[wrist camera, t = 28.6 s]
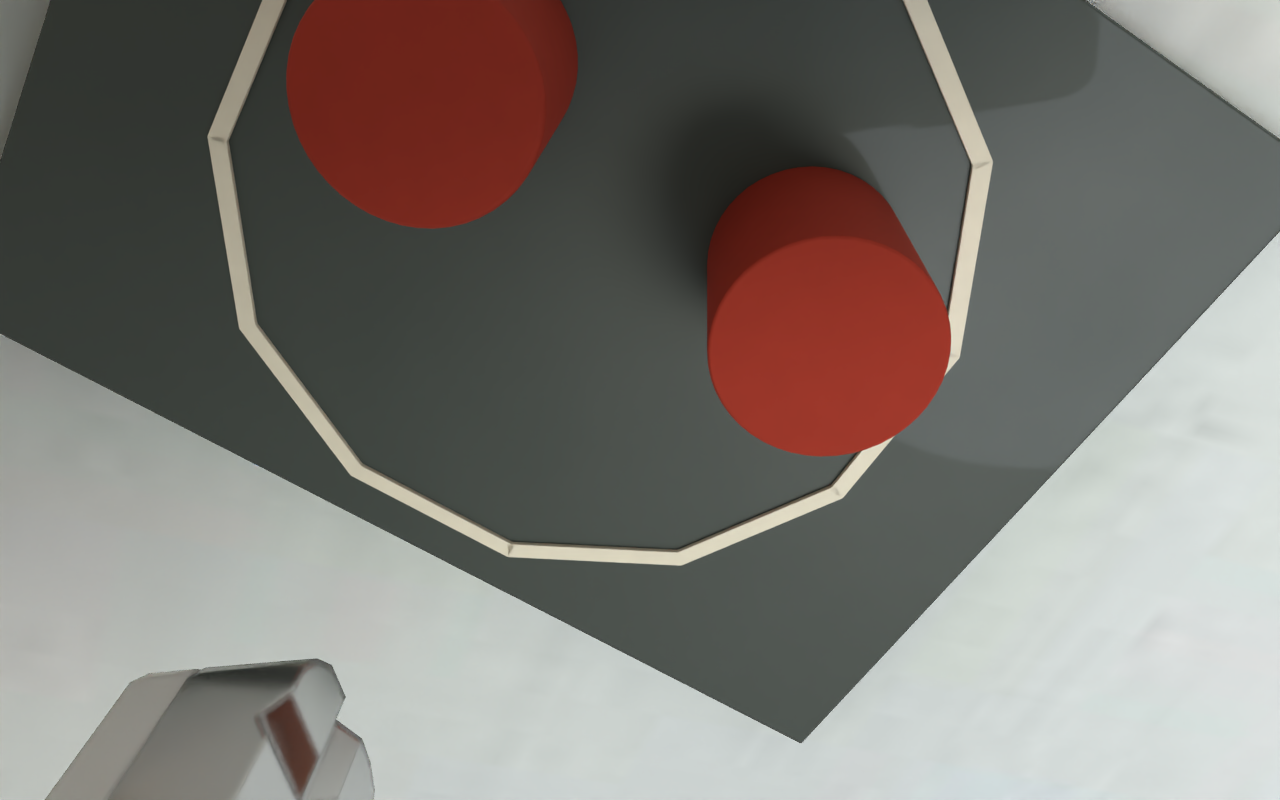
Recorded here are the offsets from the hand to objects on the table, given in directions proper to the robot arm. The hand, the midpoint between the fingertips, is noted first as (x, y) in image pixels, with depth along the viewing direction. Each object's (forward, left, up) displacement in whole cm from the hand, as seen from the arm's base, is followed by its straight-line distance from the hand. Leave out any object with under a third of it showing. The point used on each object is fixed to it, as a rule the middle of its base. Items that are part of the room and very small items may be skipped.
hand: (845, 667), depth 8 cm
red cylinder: (0, +6, -10) cm, 11 cm away
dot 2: (0, -1, -10) cm, 10 cm away
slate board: (-1, +2, -11) cm, 11 cm away
